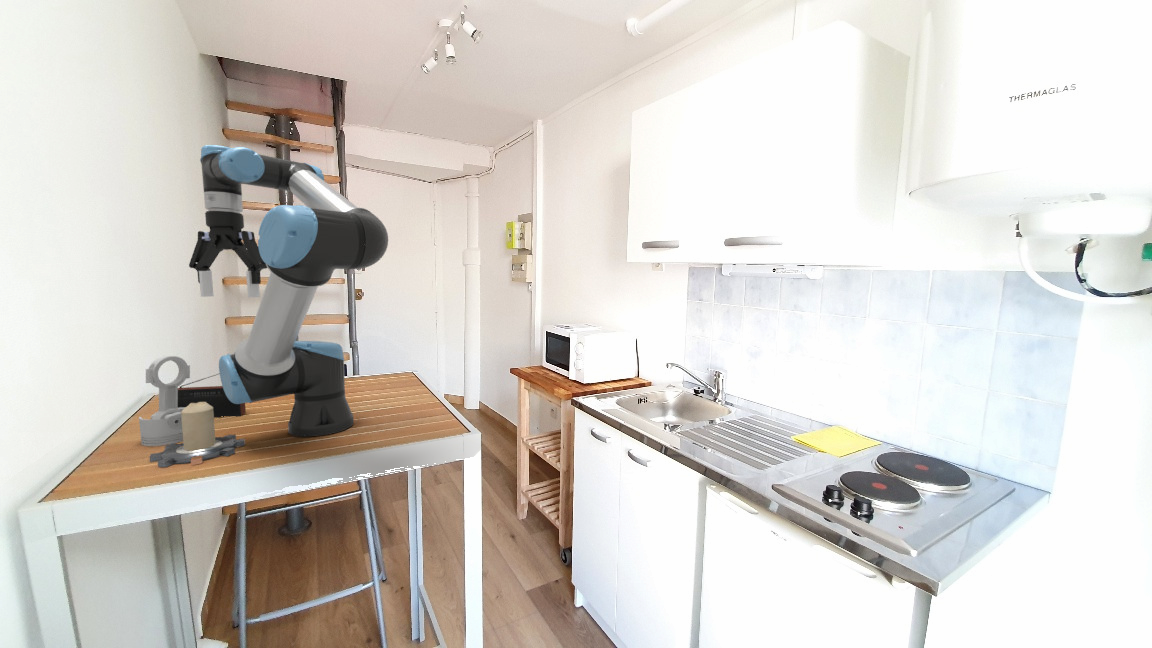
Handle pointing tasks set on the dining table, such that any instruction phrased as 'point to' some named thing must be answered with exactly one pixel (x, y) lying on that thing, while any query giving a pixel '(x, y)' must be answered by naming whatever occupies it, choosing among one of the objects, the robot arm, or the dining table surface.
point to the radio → (210, 399)
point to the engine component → (164, 406)
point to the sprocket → (196, 452)
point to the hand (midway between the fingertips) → (230, 297)
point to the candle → (198, 426)
